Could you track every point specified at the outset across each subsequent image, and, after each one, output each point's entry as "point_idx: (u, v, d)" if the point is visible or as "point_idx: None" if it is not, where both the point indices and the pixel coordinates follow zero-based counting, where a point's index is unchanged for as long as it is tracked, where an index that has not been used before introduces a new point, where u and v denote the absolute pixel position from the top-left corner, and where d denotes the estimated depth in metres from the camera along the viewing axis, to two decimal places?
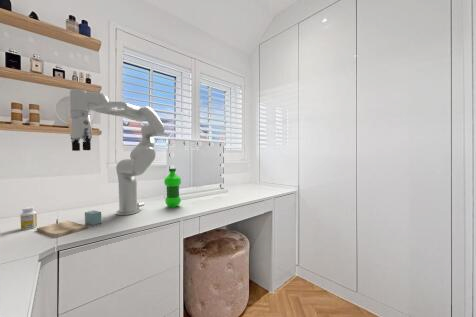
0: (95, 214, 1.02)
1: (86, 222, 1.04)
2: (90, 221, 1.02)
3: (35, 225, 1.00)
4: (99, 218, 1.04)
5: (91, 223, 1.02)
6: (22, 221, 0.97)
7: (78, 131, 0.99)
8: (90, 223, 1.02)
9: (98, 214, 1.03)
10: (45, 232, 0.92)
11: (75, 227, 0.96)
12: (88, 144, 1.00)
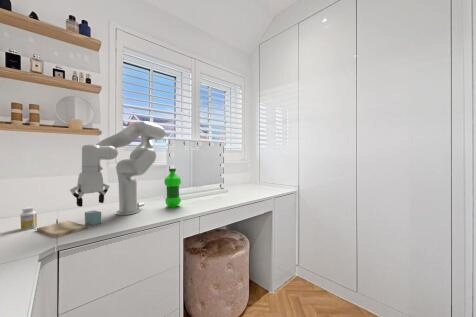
0: (95, 214, 1.02)
1: (86, 222, 1.04)
2: (90, 221, 1.02)
3: (35, 225, 1.00)
4: (99, 218, 1.04)
5: (91, 223, 1.02)
6: (22, 221, 0.97)
7: (99, 186, 1.05)
8: (90, 223, 1.02)
9: (98, 214, 1.03)
10: (45, 232, 0.92)
11: (75, 227, 0.96)
12: None
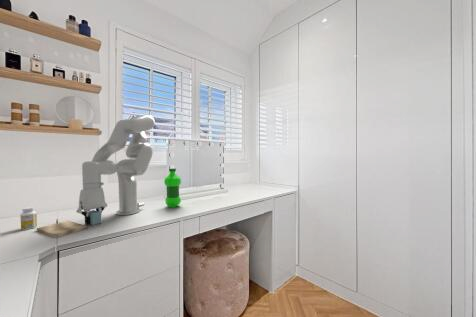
0: (95, 214, 1.02)
1: None
2: (90, 220, 1.02)
3: (35, 225, 1.00)
4: (99, 218, 1.04)
5: (91, 223, 1.02)
6: (22, 221, 0.97)
7: (101, 201, 1.06)
8: (90, 223, 1.02)
9: (98, 214, 1.04)
10: (45, 232, 0.92)
11: (75, 227, 0.96)
12: None
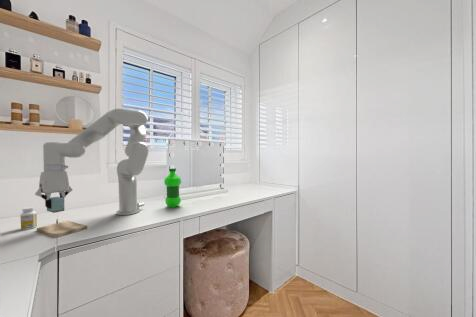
0: (57, 200, 0.97)
1: (48, 208, 0.98)
2: (51, 207, 0.96)
3: (35, 225, 1.00)
4: (62, 204, 0.98)
5: (52, 209, 0.96)
6: (22, 221, 0.97)
7: (64, 185, 1.00)
8: (51, 209, 0.97)
9: (60, 200, 0.98)
10: (45, 232, 0.92)
11: (75, 227, 0.96)
12: None
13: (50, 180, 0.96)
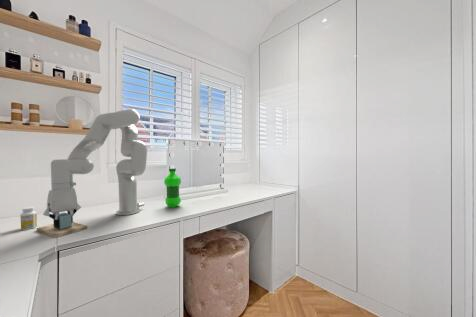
0: (64, 217, 0.94)
1: None
2: None
3: (35, 225, 1.00)
4: (69, 221, 0.96)
5: None
6: (22, 221, 0.97)
7: (72, 203, 0.97)
8: None
9: (67, 217, 0.95)
10: (45, 232, 0.92)
11: (75, 227, 0.96)
12: None
13: (58, 199, 0.92)
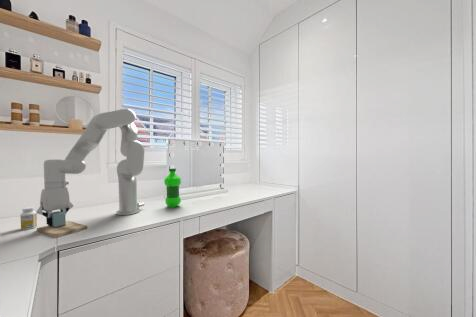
0: (58, 215, 0.97)
1: None
2: (53, 222, 0.97)
3: (35, 225, 1.00)
4: (63, 219, 0.98)
5: (53, 225, 0.96)
6: (22, 221, 0.97)
7: (65, 201, 1.01)
8: (53, 225, 0.97)
9: (62, 215, 0.98)
10: (45, 232, 0.92)
11: (75, 227, 0.96)
12: None
13: (51, 198, 0.96)
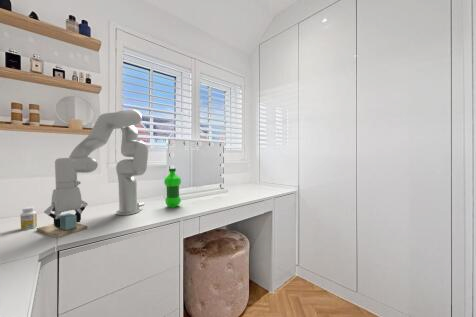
0: (69, 218, 0.93)
1: None
2: (63, 225, 0.92)
3: (35, 225, 1.00)
4: (74, 222, 0.94)
5: (64, 228, 0.92)
6: (22, 221, 0.97)
7: (77, 202, 0.96)
8: (63, 228, 0.92)
9: (73, 218, 0.94)
10: (45, 232, 0.92)
11: None
12: None
13: (63, 198, 0.91)
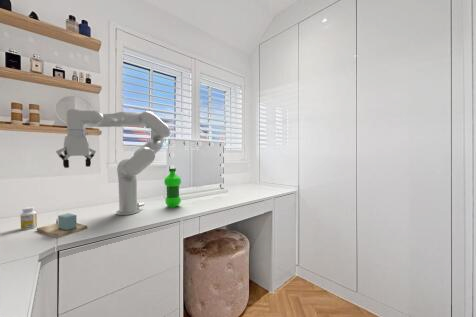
0: (69, 218, 0.93)
1: (59, 226, 0.94)
2: (63, 225, 0.92)
3: (35, 225, 1.00)
4: (74, 222, 0.94)
5: (64, 228, 0.92)
6: (22, 221, 0.97)
7: (85, 149, 1.09)
8: (63, 228, 0.92)
9: (73, 218, 0.94)
10: (45, 232, 0.92)
11: None
12: None
13: (73, 143, 1.05)
